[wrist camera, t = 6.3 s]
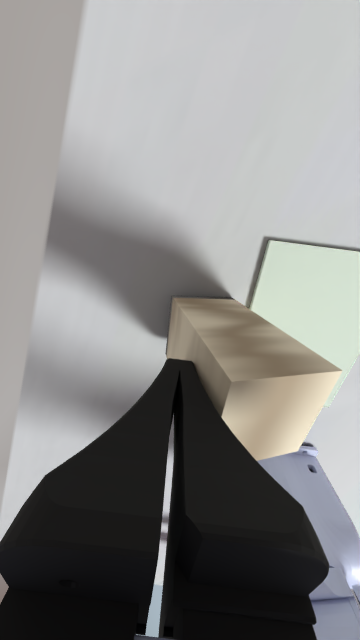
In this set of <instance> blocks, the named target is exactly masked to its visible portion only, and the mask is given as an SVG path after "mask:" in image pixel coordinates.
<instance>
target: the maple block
mask: <svg viewBox="0 0 360 640" xmlns="http://www.w3.org/2000/svg"><path fill="white" fill-rule="evenodd" d="M166 356H167V359H168V358H172V359H180V360H188V361H192V362H193V363H194V366H195V369H196V371H197V374H198V376H199V379H200V381H201V383H202V385H203V387H204V389H205V391H206V393H207V394H208V396H209V398H210V400H211V401H212V403H213V405H214V406H215V408H216V410H217V411H218V413H219V414H220V416H221V417H222V419H223V420H224V421H225V423H226V424H227V426H228V427H229V428H230V430H231V431H232V432H233V434H234V435H235V436H236V437H237V439H238V440H239V441H240V442H241V443H242V445H243V446H244V447H245V448H246V449H247V450H248V452H249V453H250V454H251V455H252V456H253V457H254V459H255V460H256V461H258V460H263V459H267V458H271V457H275V456H280V455H284V454H288V453H292V452H297V451H298V450H299V448H300V447H301V445H302V443H303V441H304V439H305V438H306V436H307V434H308V432H309V430H310V429H311V427H312V425H313V423H314V422H315V420H316V418H317V416H318V414H319V413H320V411H321V409H322V407H323V405H324V404H325V402H326V400H327V398H328V396H329V395H330V393H331V391H332V389H333V388H334V386H335V384H336V382H337V380H338V379H339V377H340V375H341V373H342V371H343V370H341V369H340V368H338V367H336V366H335V365H333V364H332V363H330V362H329V361H327V360H326V359H324V358H323V357H321V356H320V355H318V354H317V353H315V352H314V351H312V350H311V349H309V348H308V347H306V346H305V345H303V344H302V343H300V342H299V341H297V340H296V339H294V338H292V337H291V336H289V335H288V334H286V333H285V332H283V331H282V330H280V329H279V328H277V327H276V326H274V325H273V324H271V323H270V322H268V321H267V320H265V319H264V318H262V317H261V316H259V315H258V314H256V313H255V312H253V311H251V310H250V309H248V308H247V307H245V306H244V305H242V304H241V303H239V302H238V301H236V300H235V299H233V298H216V297H188V296H172V298H171V307H170V317H169V326H168V336H167V345H166Z"/></svg>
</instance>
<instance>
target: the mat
mask: <svg viewBox="0 0 360 640" xmlns="http://www.w3.org/2000/svg"><path fill="white" fill-rule="evenodd" d="M249 309H250V310H251V311H253V312H255V313H256V314H258V315H259V316H261V317H262V318H264V319H265V320H267V321H268V322H270V323H271V324H273V325H274V326H276V327H277V328H279V329H280V330H282V331H283V332H285V333H286V334H288V335H289V336H291V337H292V338H294V339H296V340H297V341H299V342H300V343H302V344H303V345H305V346H306V347H308V348H309V349H311V350H312V351H314V352H315V353H317V354H318V355H320V356H321V357H323V358H324V359H326V360H327V361H329V362H330V363H332V364H333V365H335V366H336V367H338V368H340V369H341V370H343V371H342V373H341V375H340V377H339V379H338V380H337V382H336V384H335V386H334V388H333V389H332V391H331V393H330V395H329V396H328V398H327V400H326V402H325V404H324V405H323V407H329V406H330V404H331V402H332V401H333V399H334V397H335V395H336V394H337V392H338V390H339V389H340V387H341V385H342V383H343V382H344V380H345V378H346V376H347V375H348V373H349V371H350V370H351V368H352V366H353V364H354V363H355V361H356V359H357V357H358V356H359V354H360V252H357V251H349V250H341V249H334V248H326V247H318V246H311V245H303V244H295V243H288V242H280V241H272V240H268V243H267V247H266V251H265V254H264V258H263V261H262V265H261V269H260V272H259V276H258V279H257V283H256V286H255V290H254V294H253V297H252V301H251V304H250V308H249Z"/></svg>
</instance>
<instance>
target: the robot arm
mask: <svg viewBox="0 0 360 640" xmlns="http://www.w3.org/2000/svg"><path fill="white" fill-rule="evenodd" d="M173 414H174V463H173V477H172V489H171V501H170V513H169V524H168V536H167V547H166V559H165V570H164V581H163V592H162V594H163V595H162V603H161V614H160V625H159V637H158V638H157V637H149V636H141V635H145V633H146V623H147V618H148V612H149V606H150V603H151V597H152V591H153V585H154V579H155V573H156V567H157V561H158V553H159V543H160V533H161V523H162V512H163V500H164V488H165V477H166V465H167V454H168V443H169V435H170V429H171V424H172V419H173ZM317 454H318V450H317V449H316V448H315V447H309V446H301V447H300V448H299V450H298V451H297V452H292V453H288V454H284V455H280V456H275V457H271V458H267V459H263V460H258V461H256V460H255V459H254V457H253V456H252V455H251V454H250V453H249V452H248V450H247V449H246V448H245V447H244V446H243V445H242V443H241V442H240V441H239V440H238V439H237V437H236V436H235V435H234V434H233V432H232V431H231V430H230V428H229V427H228V426H227V424H226V423H225V421H224V420H223V419H222V417H221V416H220V414H219V413H218V411H217V410H216V408H215V406H214V405H213V403H212V401H211V400H210V398H209V396H208V394H207V393H206V391H205V389H204V387H203V385H202V383H201V381H200V379H199V376H198V374H197V371H196V369H195V366H194V363H193V362H192V361H188V360H180V359H172V358H168V359H167V360H166V362H165V365H164V366H163V368H162V370H161V372H160V373H159V375H158V376H157V378H156V379H155V380H154V382H153V383H152V385H151V386H150V387H149V388H148V390H147V391H146V392H145V393H144V394H143V396H142V397H141V398H140V399H139V400H138V401H137V402H136V404H135V405H134V406H133V407H132V408H131V409H130V410H129V411H128V412H127V413H126V414H125V415H124V416H122V417H121V418H120V419H119V420H118V421H117V422H116V423H115V424H114V425H113V426H112V427H110V428H109V429H108V430H107V431H106V432H104V433H103V434H102V435H101V436H99V437H98V438H97V439H96V440H94V441H93V442H92V443H90V444H89V445H88V446H87V447H85V448H84V449H83V450H81V451H80V452H79V453H77V454H76V455H74V456H73V457H71V458H70V459H68V460H67V461H66V462H64V463H63V464H61V465H60V466H58V467H57V468H55V469H54V470H52V471H51V472H49V473H48V474H47V475H45V477H44V478H43V479H42V480H41V482H40V483H39V484H38V486H37V487H36V488H35V490H34V491H33V492H32V494H31V495H30V497H29V498H28V499H27V501H26V502H25V503H24V505H23V506H22V508H21V509H20V511H19V512H18V514H17V516H16V517H15V519H14V521H13V522H12V524H11V525H10V527H9V529H8V530H7V532H6V534H5V535H4V537H3V539H2V540H1V542H0V573H1V575H2V577H3V578H4V580H5V581H6V583H7V584H8V586H9V588H8V590H7V592H6V594H5V596H4V598H3V600H2V602H1V604H0V640H360V609H359V607H358V604H357V602H356V600H355V598H354V596H353V594H352V592H351V589H353V590H354V593H355V595H356V597H357V599H358V602H359V604H360V538H359V535H358V533H357V530H356V528H355V526H354V524H353V522H352V520H351V518H350V517H349V515H348V513H347V511H346V510H345V508H344V506H343V504H342V503H341V501H340V499H339V497H338V495H337V494H336V492H335V490H334V488H333V487H332V485H331V483H330V481H329V480H328V478H327V476H326V474H325V472H324V471H323V469H322V467H321V465H320V464H319V462H318V460H317V458H316V456H317ZM136 634H139V635H136Z"/></svg>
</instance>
